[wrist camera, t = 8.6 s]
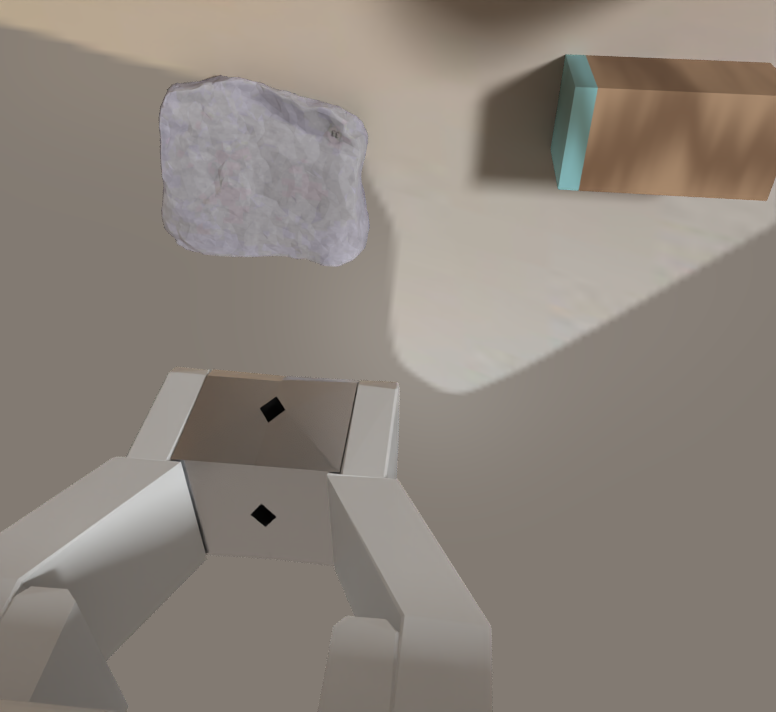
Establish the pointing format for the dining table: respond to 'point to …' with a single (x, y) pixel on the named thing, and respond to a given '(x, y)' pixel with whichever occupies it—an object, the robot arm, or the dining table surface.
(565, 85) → the walnut block
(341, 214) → the stone block
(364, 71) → the dining table surface
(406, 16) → the dining table surface
